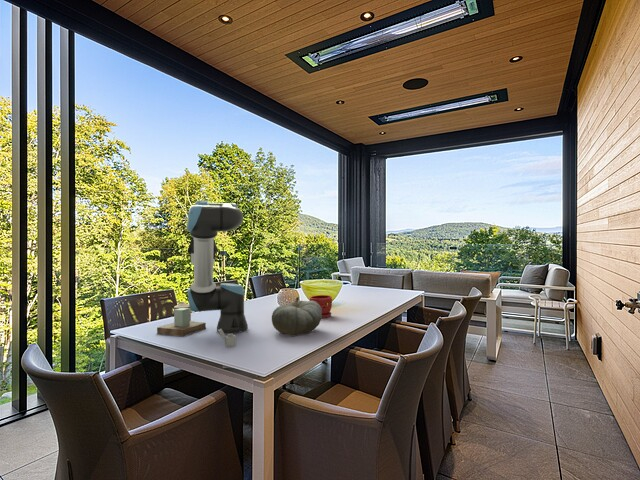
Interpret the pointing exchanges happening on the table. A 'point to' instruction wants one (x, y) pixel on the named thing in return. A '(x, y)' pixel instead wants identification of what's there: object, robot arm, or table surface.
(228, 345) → the lighter
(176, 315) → the sage pillar block
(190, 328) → the walnut base
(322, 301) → the plant pot
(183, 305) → the teacup with lid
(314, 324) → the gourd
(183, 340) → the table surface
